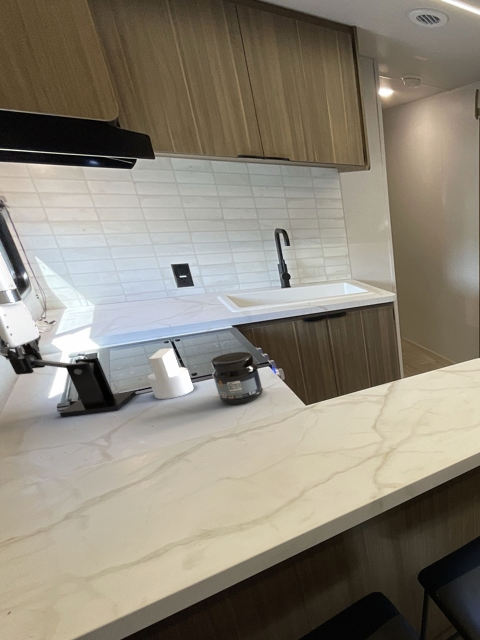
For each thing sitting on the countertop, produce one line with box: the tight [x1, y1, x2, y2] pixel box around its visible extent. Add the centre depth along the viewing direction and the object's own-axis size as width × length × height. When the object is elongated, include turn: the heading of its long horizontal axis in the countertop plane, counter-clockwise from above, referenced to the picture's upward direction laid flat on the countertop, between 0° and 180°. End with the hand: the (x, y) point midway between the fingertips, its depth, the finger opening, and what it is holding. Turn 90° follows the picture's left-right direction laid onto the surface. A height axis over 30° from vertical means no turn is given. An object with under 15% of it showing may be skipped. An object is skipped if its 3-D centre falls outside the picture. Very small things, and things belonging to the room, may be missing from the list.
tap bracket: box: [59, 356, 137, 418], centre depth 106 cm, size 12×10×13 cm
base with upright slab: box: [147, 347, 194, 400], centre depth 114 cm, size 9×9×12 cm
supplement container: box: [210, 351, 264, 406], centre depth 110 cm, size 10×10×12 cm
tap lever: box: [23, 354, 94, 372], centre depth 102 cm, size 14×3×3 cm, turn 108°
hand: (31, 369), depth 101 cm, fingers closed on tap lever, 3 cm apart
